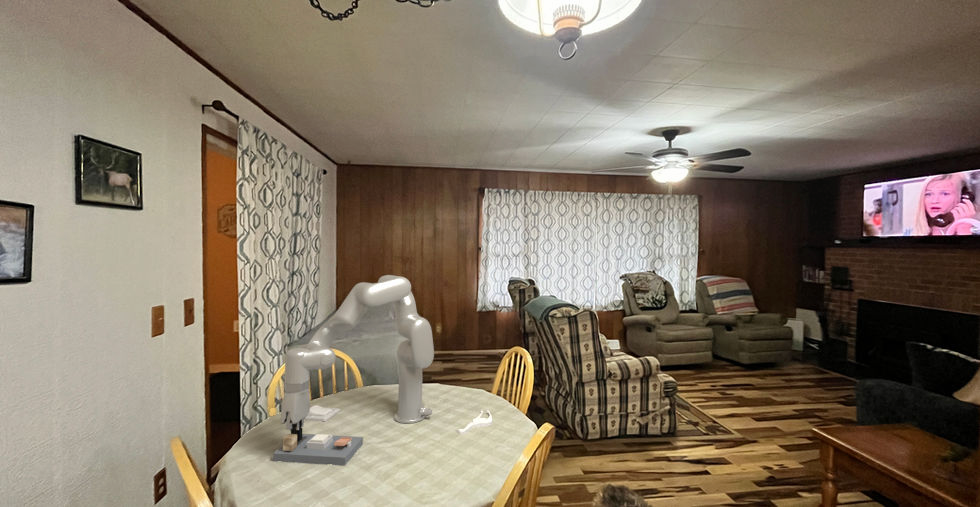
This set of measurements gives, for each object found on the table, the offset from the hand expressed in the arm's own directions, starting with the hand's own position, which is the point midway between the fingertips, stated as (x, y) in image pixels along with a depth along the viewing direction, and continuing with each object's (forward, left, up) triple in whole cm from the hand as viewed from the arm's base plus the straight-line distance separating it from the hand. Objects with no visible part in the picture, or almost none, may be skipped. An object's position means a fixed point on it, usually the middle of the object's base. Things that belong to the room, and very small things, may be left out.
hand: (296, 440), depth 133 cm
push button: (-8, 0, -1) cm, 8 cm away
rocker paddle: (-16, 0, 0) cm, 16 cm away
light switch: (+8, -29, -5) cm, 31 cm away
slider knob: (0, +4, -1) cm, 4 cm away
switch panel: (-8, 0, -4) cm, 9 cm away
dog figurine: (-58, -29, -4) cm, 64 cm away
